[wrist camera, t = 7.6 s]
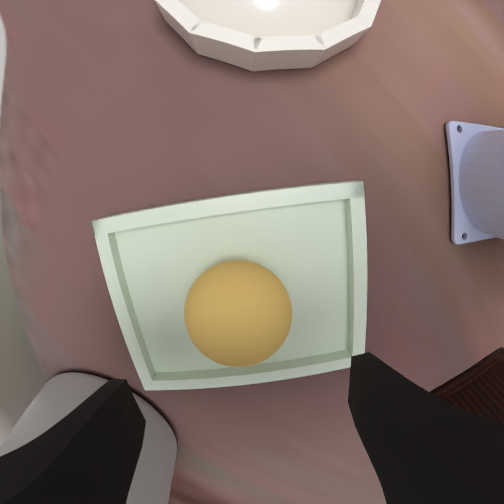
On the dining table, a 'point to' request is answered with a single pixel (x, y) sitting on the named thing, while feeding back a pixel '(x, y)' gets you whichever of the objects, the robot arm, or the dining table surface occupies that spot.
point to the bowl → (269, 29)
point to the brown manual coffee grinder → (478, 388)
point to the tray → (248, 249)
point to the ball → (238, 313)
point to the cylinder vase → (72, 395)
